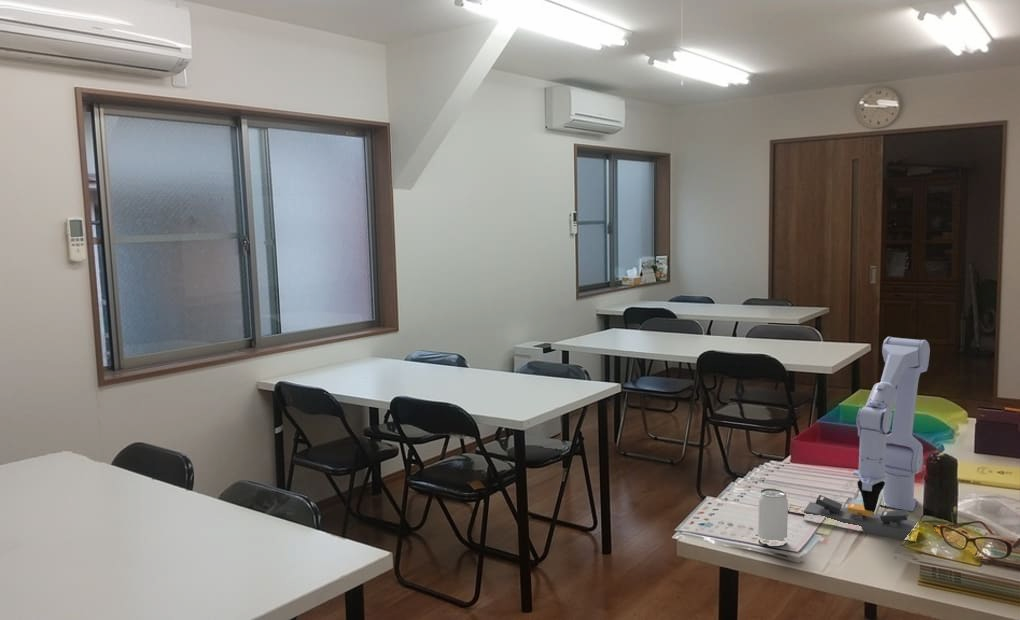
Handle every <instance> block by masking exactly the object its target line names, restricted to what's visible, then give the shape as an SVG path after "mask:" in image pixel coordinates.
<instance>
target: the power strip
mask: <svg viewBox="0 0 1020 620" xmlns="http://www.w3.org/2000/svg"><path fill="white" fill-rule="evenodd" d="M815 503H816V502H813V501H809V502H808V504H807V506H806V507H805V508H804V510H803V511H804V513H806V514H813V515H821V516H825V517H827V518H831V519H834V520H837V521H840V522H843V523H848V524H853V525H859V526H861V527H862V529H863V531H864V532H863V533H865V532H866V533H865V534H870V535H871V534H872V535H875V536H880V537H881V536H882V537H885V538H891V539H895V540H896V539H897V540H899V541H900V540H901V541H905V540H904V539H905V538H906V537H907V535H908V534H909V533H910V532H911V530H912V529H913V528H914V526H915V525H916V523H917V522H918V521H917V520H911V519H907V520H904V521H897V522H893V521H881V518H880V516H881V514H877V513H874V514H873V517H870V516H865V515H862V516H860V515H857V514H854V513H849V512H847V508H845V507H841V510H840V511H839V513H836V512H834V511H832V510H828V509H824V507H822V506H820V505H818V504H815Z"/></svg>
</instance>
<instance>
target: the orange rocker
mask: <svg viewBox="0 0 1020 620" xmlns="http://www.w3.org/2000/svg"><path fill="white" fill-rule="evenodd" d="M847 512H849V513H854V514H857V515H860V516H862V515H865V516H870V517H873V514H875V512H873V511H870V510H865V509H864V504H859V503H855V502H854V503H853V502H849V504H848V506H847Z"/></svg>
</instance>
